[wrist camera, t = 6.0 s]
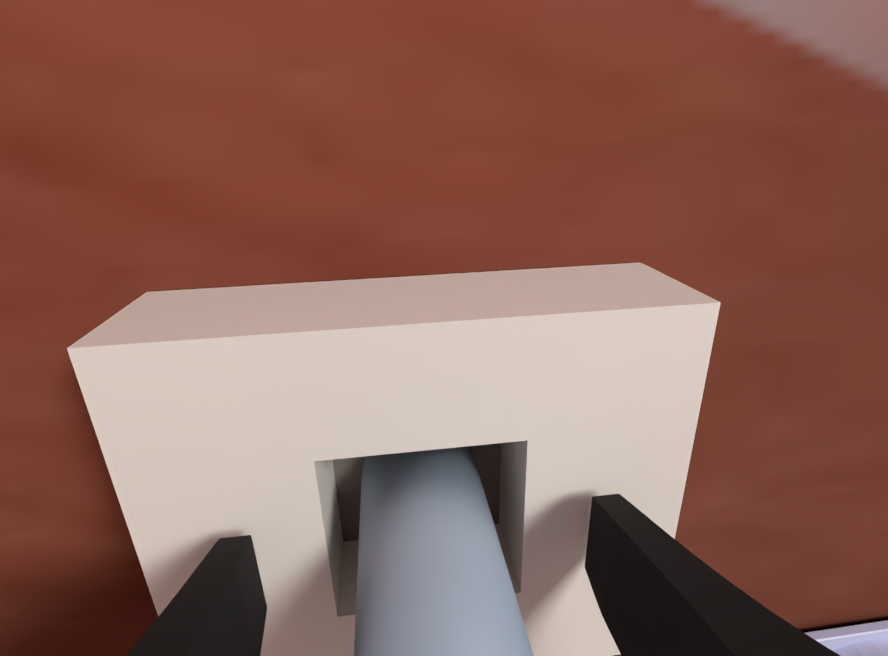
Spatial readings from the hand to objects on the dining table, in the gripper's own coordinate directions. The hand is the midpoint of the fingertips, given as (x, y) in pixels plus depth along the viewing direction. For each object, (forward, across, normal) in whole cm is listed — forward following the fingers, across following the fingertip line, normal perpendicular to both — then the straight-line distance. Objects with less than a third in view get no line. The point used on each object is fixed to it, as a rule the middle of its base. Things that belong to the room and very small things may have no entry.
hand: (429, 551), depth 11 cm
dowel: (+3, 0, 0) cm, 3 cm away
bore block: (+4, 0, 0) cm, 4 cm away
